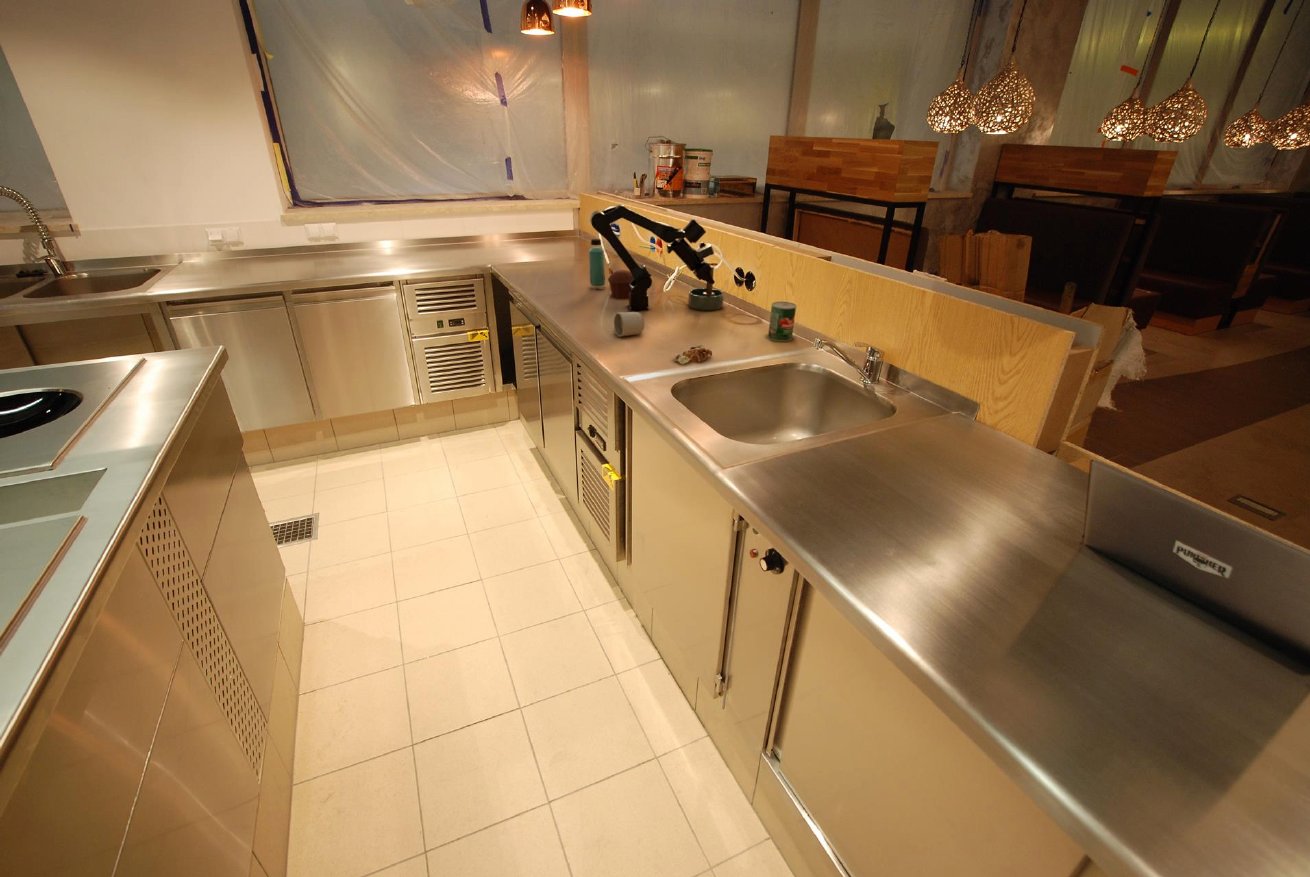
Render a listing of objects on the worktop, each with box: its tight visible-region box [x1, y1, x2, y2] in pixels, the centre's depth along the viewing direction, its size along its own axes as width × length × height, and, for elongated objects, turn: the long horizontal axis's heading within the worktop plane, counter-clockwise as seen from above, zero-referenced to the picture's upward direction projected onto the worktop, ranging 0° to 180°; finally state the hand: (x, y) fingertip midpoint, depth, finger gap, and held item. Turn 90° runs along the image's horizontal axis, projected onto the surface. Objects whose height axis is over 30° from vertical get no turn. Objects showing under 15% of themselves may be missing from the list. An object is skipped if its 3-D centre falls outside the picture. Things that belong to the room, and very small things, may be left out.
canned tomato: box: [767, 301, 797, 342], centre depth 187 cm, size 8×8×11 cm
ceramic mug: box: [613, 311, 645, 338], centre depth 189 cm, size 11×8×8 cm
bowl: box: [687, 287, 725, 312], centre depth 220 cm, size 13×13×6 cm
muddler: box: [703, 265, 715, 297], centre depth 217 cm, size 4×4×13 cm
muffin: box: [607, 269, 634, 300], centre depth 230 cm, size 12×11×10 cm
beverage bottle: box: [588, 238, 606, 287], centre depth 239 cm, size 6×7×20 cm
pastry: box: [674, 344, 713, 365], centre depth 170 cm, size 7×12×4 cm, turn 134°
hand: (713, 282), depth 217 cm, fingers closed on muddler, 2 cm apart
